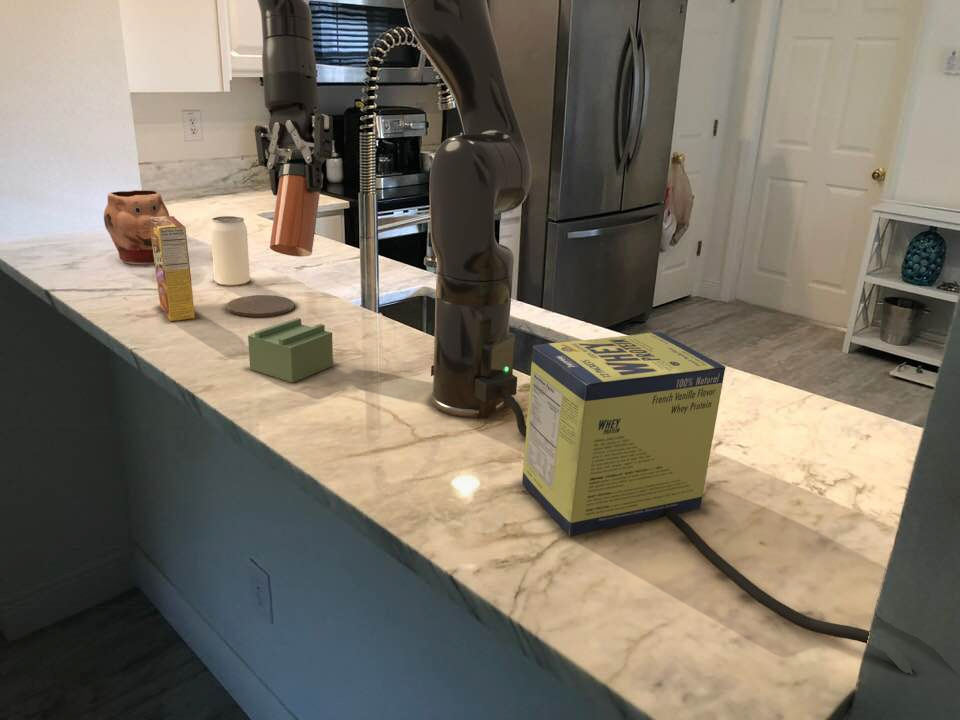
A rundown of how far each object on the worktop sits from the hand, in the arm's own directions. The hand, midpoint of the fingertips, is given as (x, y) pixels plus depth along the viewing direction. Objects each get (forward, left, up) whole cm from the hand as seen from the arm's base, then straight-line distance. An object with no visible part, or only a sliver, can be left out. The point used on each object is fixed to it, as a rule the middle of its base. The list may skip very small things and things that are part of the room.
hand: (296, 193), depth 111 cm
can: (+31, -14, -22) cm, 41 cm away
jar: (-1, +1, -2) cm, 3 cm away
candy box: (+23, +5, -22) cm, 32 cm away
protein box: (-59, +17, -22) cm, 65 cm away
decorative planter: (+58, -14, -22) cm, 64 cm away
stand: (-9, +11, -22) cm, 26 cm away
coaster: (+15, -6, -22) cm, 27 cm away
